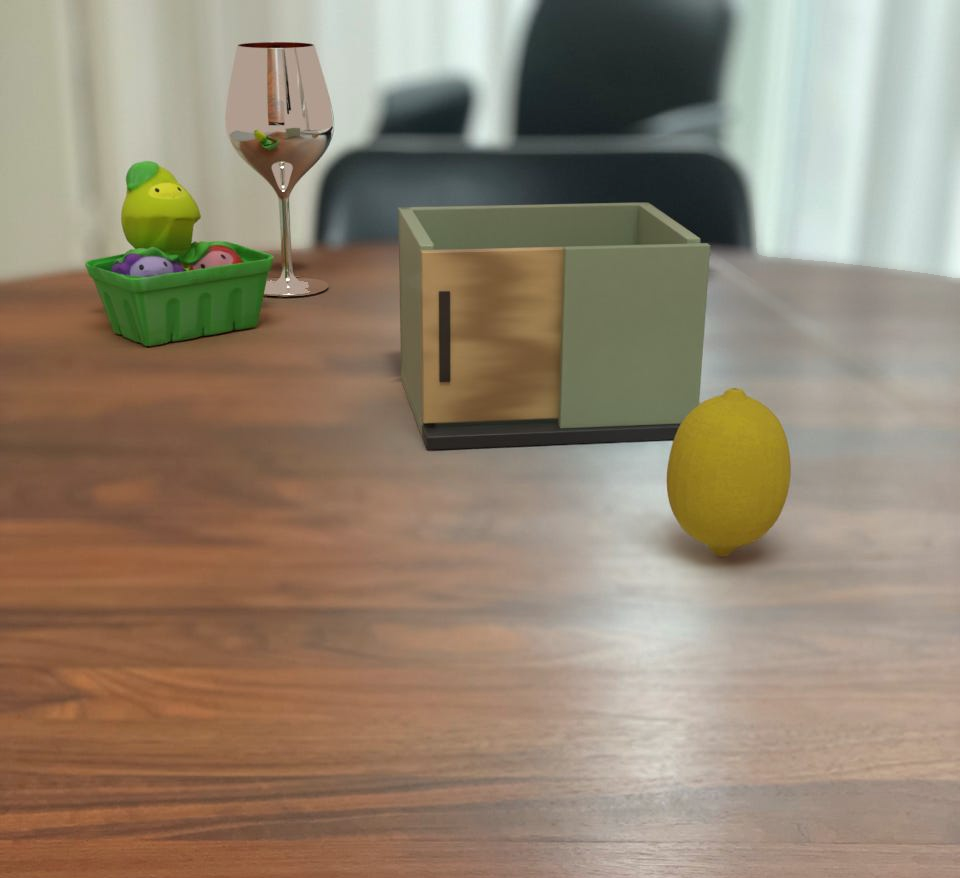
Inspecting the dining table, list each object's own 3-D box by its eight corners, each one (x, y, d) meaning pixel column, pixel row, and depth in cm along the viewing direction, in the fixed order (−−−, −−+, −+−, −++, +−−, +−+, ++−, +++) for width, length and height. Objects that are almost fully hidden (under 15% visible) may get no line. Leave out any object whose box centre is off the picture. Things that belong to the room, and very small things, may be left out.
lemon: (805, 556, 70) (823, 389, 66) (733, 589, 66) (748, 415, 63) (710, 525, 73) (723, 364, 70) (637, 555, 70) (646, 387, 66)
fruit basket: (138, 354, 101) (122, 181, 96) (80, 329, 107) (61, 164, 102) (282, 328, 107) (274, 165, 102) (219, 306, 113) (208, 150, 108)
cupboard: (639, 372, 98) (648, 202, 93) (698, 439, 85) (712, 246, 81) (401, 381, 95) (398, 207, 91) (426, 450, 83) (424, 253, 78)
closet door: (558, 415, 86) (563, 246, 81) (560, 419, 85) (565, 249, 81) (422, 420, 84) (420, 250, 80) (424, 424, 84) (422, 252, 80)
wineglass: (215, 288, 119) (197, 44, 111) (296, 272, 124) (284, 39, 116) (279, 305, 114) (266, 51, 106) (361, 288, 119) (353, 45, 111)
